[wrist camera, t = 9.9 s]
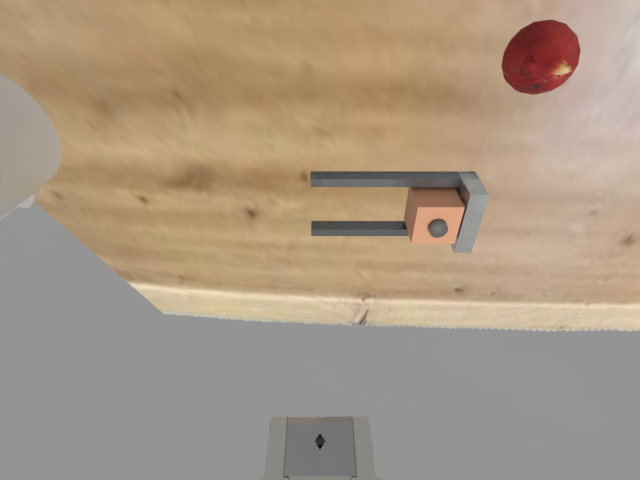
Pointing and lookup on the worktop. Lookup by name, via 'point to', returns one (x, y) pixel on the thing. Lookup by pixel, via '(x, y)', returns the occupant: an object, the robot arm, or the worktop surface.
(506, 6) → the worktop surface
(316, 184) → the rail
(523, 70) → the onion
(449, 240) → the block
